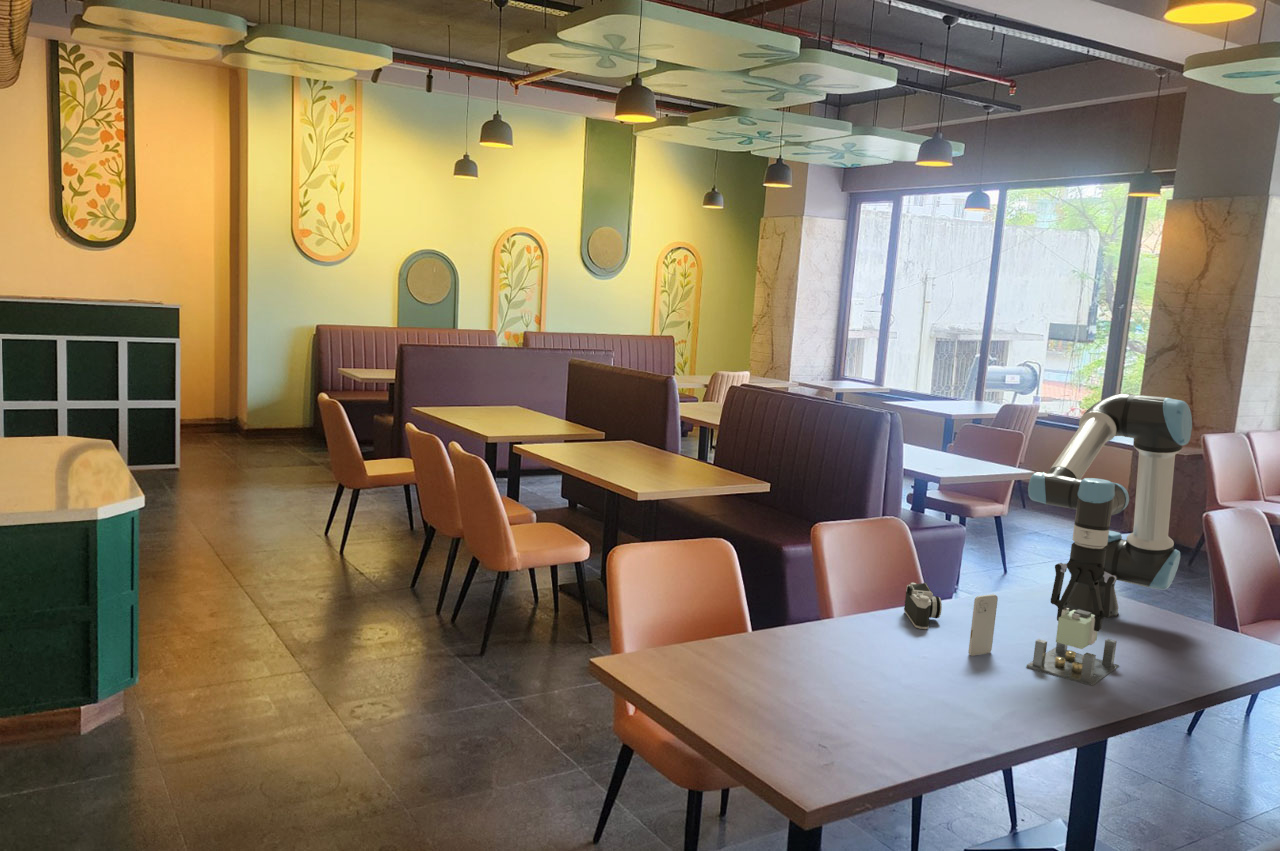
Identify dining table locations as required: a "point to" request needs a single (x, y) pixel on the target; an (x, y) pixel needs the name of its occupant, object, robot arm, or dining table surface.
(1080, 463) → the robot arm
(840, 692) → the dining table surface
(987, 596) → the smartphone
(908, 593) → the camera
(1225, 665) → the dining table surface
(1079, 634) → the block
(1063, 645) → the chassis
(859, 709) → the dining table surface
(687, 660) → the dining table surface
